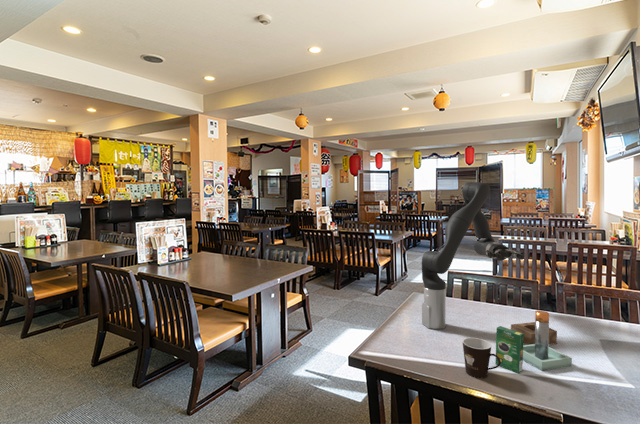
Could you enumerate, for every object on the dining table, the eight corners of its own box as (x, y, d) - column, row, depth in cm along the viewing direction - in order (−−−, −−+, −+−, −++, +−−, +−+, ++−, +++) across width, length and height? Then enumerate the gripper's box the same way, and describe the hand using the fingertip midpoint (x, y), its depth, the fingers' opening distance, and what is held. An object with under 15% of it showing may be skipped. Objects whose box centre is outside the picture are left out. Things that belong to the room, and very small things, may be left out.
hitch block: (530, 346, 130) (530, 334, 130) (510, 336, 140) (511, 324, 139) (556, 343, 132) (556, 331, 132) (535, 333, 142) (535, 321, 142)
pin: (541, 360, 117) (542, 314, 116) (531, 355, 121) (532, 311, 120) (551, 359, 118) (551, 313, 117) (541, 354, 122) (542, 310, 121)
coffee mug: (457, 367, 115) (457, 338, 114) (481, 366, 116) (481, 337, 115) (475, 386, 103) (476, 354, 103) (502, 384, 104) (503, 352, 104)
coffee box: (524, 371, 112) (524, 332, 111) (519, 374, 110) (520, 334, 109) (499, 362, 118) (499, 325, 118) (495, 364, 117) (495, 327, 116)
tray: (541, 370, 112) (541, 362, 112) (513, 354, 124) (514, 346, 124) (571, 366, 114) (571, 358, 114) (541, 351, 126) (541, 343, 126)
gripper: (480, 243, 160) (493, 248, 144) (513, 243, 158) (529, 248, 142) (480, 258, 160) (493, 265, 144) (512, 259, 158) (529, 266, 142)
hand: (511, 257), depth 143 cm, fingers open, 8 cm apart
